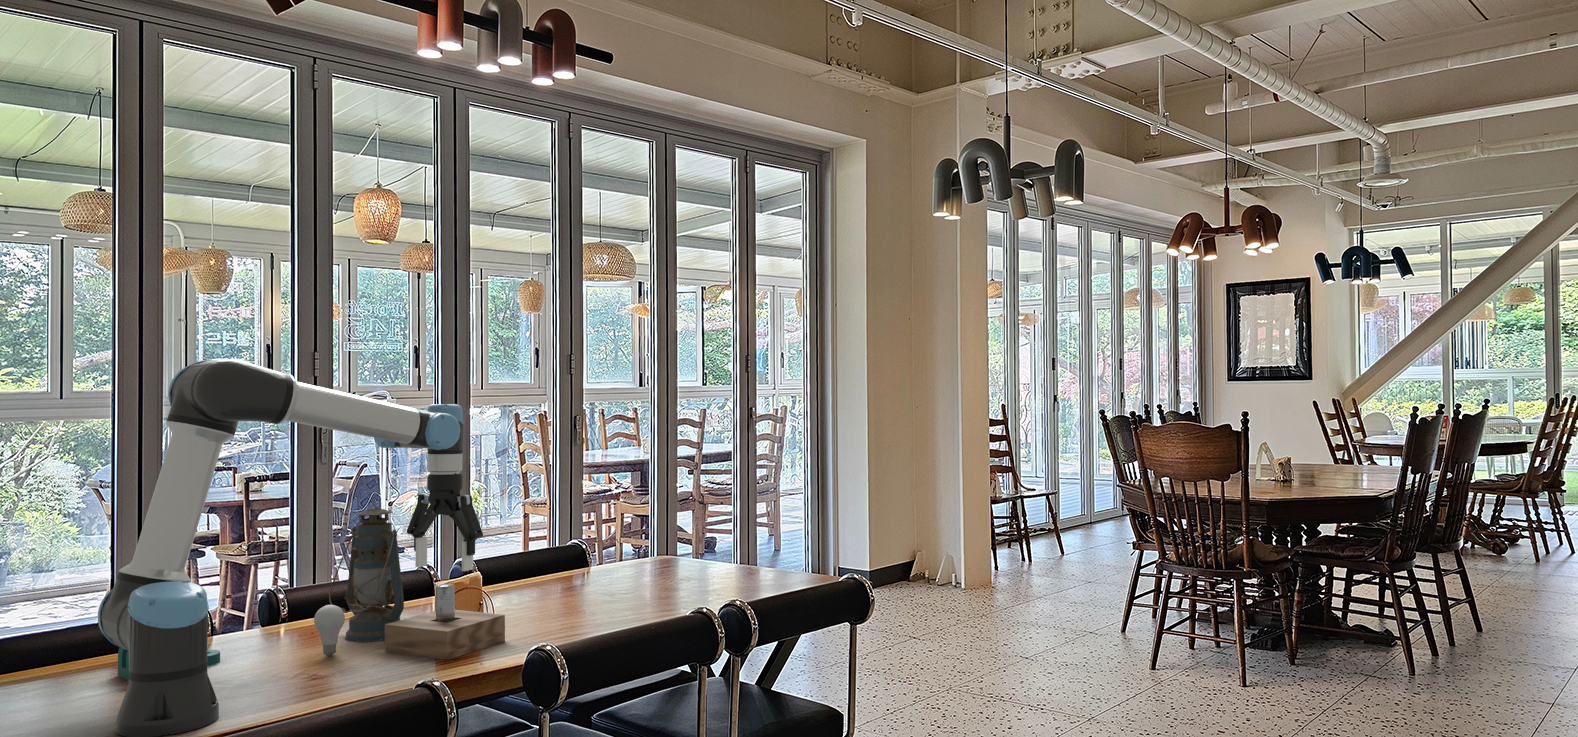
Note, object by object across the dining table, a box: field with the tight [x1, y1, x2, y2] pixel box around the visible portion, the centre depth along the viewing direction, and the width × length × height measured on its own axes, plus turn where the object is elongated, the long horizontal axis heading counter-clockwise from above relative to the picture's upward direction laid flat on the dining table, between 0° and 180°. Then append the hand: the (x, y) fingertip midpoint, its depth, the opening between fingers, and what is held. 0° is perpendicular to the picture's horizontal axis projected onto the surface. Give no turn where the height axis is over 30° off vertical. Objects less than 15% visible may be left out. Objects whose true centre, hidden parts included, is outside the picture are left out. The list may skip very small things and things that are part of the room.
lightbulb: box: [313, 604, 346, 657], centre depth 225 cm, size 6×6×11 cm
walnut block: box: [384, 609, 506, 660], centre depth 232 cm, size 18×18×6 cm
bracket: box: [117, 647, 221, 682], centre depth 216 cm, size 18×7×8 cm, turn 140°
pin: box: [435, 583, 456, 623], centre depth 232 cm, size 4×4×12 cm
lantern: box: [328, 506, 405, 643], centre depth 244 cm, size 19×14×30 cm
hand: (443, 568), depth 232 cm, fingers open, 13 cm apart
